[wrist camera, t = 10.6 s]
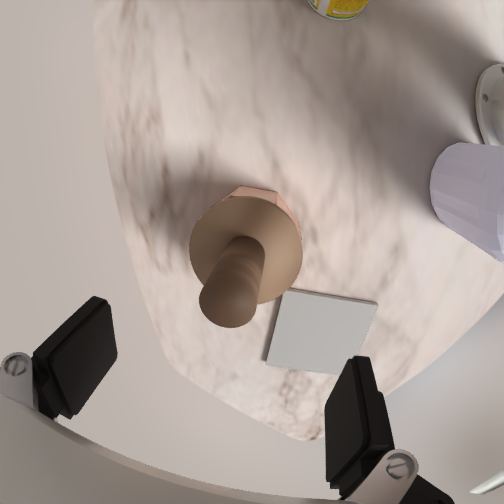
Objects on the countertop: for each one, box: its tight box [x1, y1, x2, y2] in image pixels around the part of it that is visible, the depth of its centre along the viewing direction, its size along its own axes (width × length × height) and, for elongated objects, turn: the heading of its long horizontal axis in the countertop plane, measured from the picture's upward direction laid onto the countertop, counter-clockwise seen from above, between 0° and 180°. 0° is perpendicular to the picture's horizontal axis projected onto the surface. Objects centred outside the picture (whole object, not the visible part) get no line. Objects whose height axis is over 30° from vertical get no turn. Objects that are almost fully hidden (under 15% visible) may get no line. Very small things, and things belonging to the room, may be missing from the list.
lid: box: [189, 196, 303, 328], centre depth 19 cm, size 8×8×8 cm
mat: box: [266, 288, 378, 375], centre depth 30 cm, size 10×10×1 cm
